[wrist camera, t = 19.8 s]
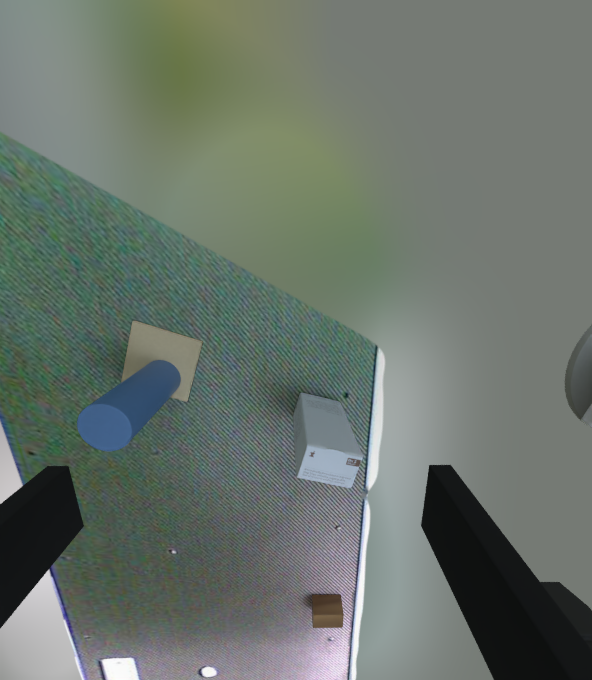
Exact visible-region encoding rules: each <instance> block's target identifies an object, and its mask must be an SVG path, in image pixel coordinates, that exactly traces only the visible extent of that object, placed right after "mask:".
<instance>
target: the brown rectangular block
mask: <svg viewBox="0 0 592 680" xmlns="http://www.w3.org/2000/svg"><path fill="white" fill-rule="evenodd" d="M312 622H313V628H341V627H343V608H342V601H341V595H312Z"/></svg>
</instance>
